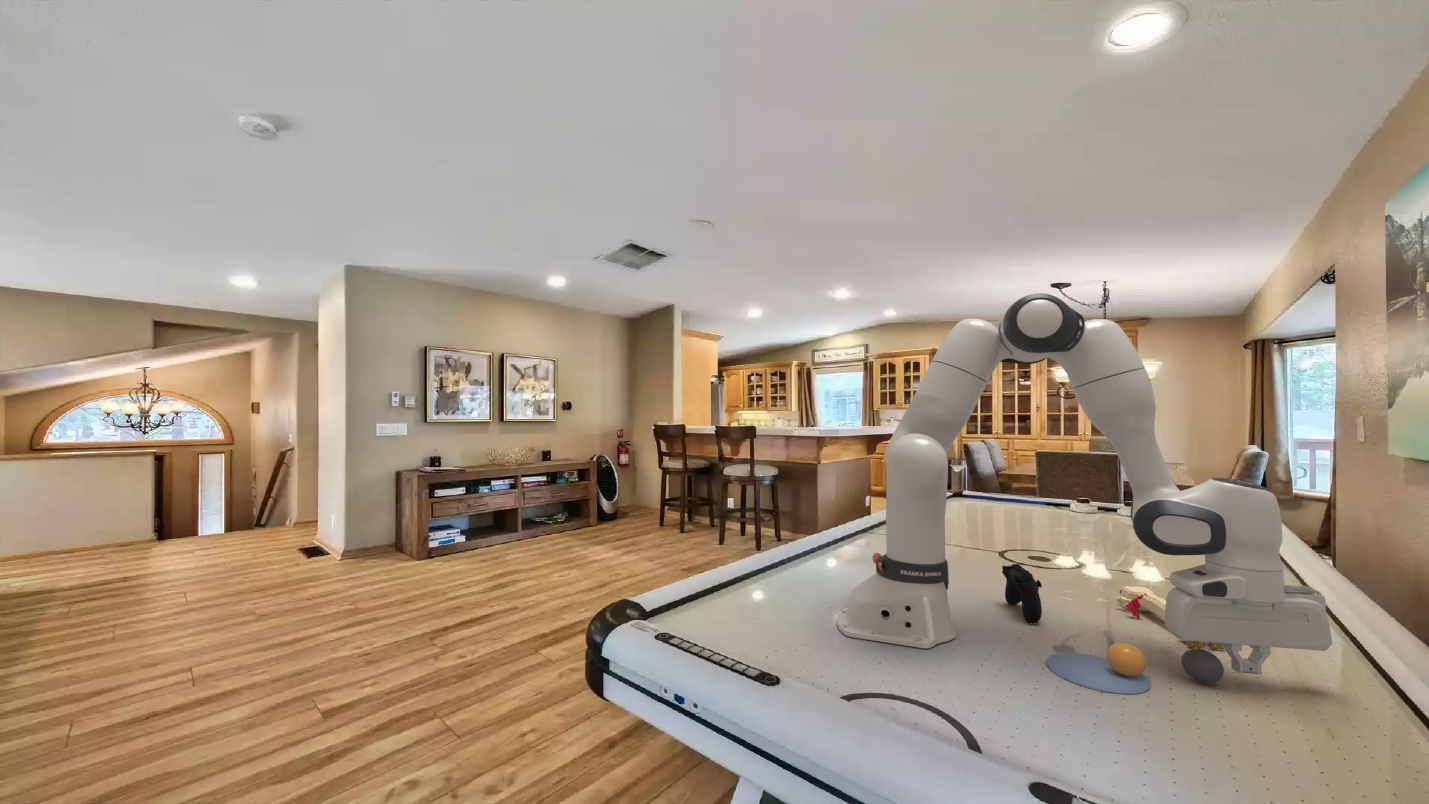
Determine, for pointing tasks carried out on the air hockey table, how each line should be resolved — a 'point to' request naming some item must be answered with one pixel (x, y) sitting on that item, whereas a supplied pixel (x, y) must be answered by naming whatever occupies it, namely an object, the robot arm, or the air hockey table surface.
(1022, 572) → the gaming controller
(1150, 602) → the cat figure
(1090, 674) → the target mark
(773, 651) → the air hockey table surface
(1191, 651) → the dark grey ball
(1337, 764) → the air hockey table surface
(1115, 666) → the object ball
